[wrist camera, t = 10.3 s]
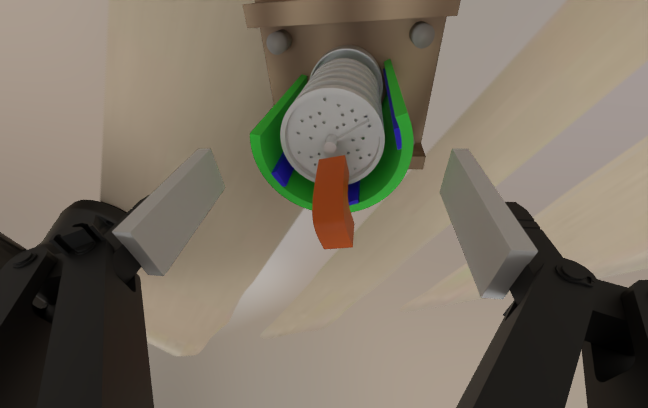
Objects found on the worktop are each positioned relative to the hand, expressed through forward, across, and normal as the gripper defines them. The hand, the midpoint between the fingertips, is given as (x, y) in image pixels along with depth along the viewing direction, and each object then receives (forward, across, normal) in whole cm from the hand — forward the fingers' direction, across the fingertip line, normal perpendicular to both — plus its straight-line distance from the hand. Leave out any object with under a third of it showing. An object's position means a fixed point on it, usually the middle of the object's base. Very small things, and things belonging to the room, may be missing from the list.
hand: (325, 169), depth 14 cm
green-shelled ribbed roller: (+15, +1, 0) cm, 15 cm away
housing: (+16, +1, 0) cm, 16 cm away
